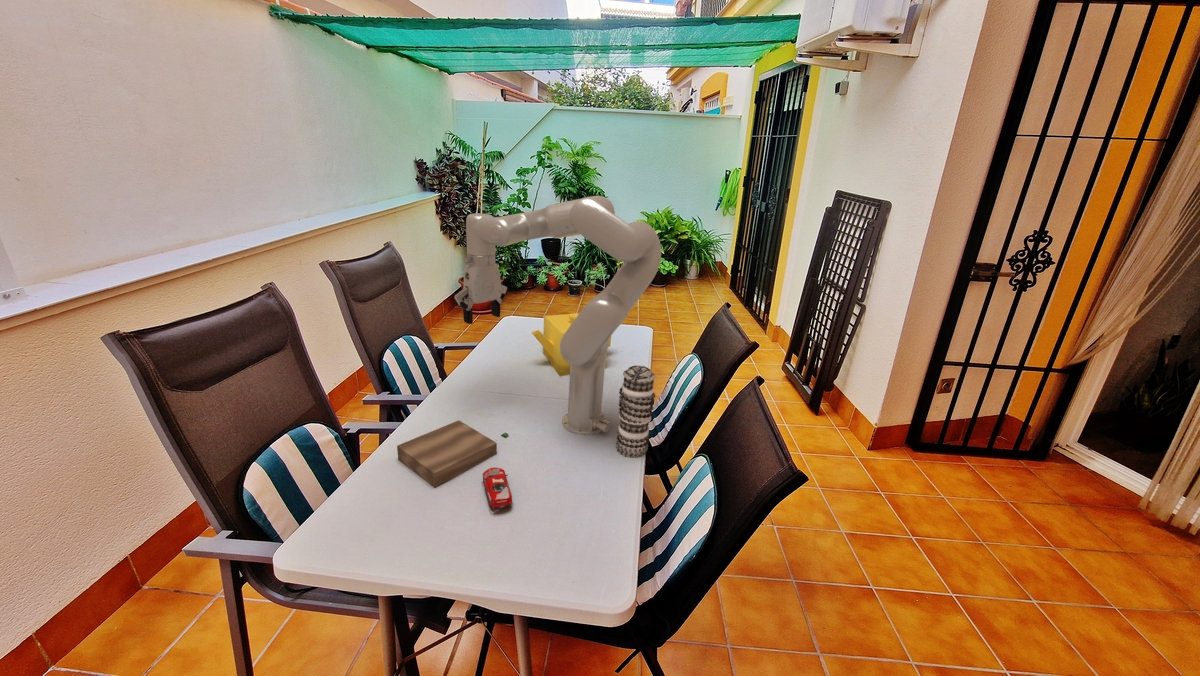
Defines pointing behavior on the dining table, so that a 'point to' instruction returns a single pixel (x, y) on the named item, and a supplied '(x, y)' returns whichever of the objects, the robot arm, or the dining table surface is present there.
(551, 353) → the square teapot
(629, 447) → the decorative candle
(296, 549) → the dining table surface
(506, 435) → the puzzle cube
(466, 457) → the block
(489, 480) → the race car
